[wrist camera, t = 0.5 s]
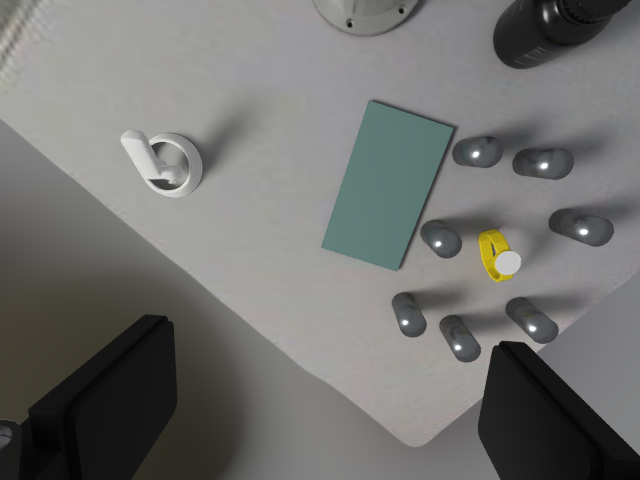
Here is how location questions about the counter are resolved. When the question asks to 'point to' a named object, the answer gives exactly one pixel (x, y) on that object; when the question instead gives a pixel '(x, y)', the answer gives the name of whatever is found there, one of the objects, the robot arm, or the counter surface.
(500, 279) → the watch
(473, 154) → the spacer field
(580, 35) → the supplement bottle
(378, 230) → the mat
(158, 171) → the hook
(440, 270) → the counter surface
